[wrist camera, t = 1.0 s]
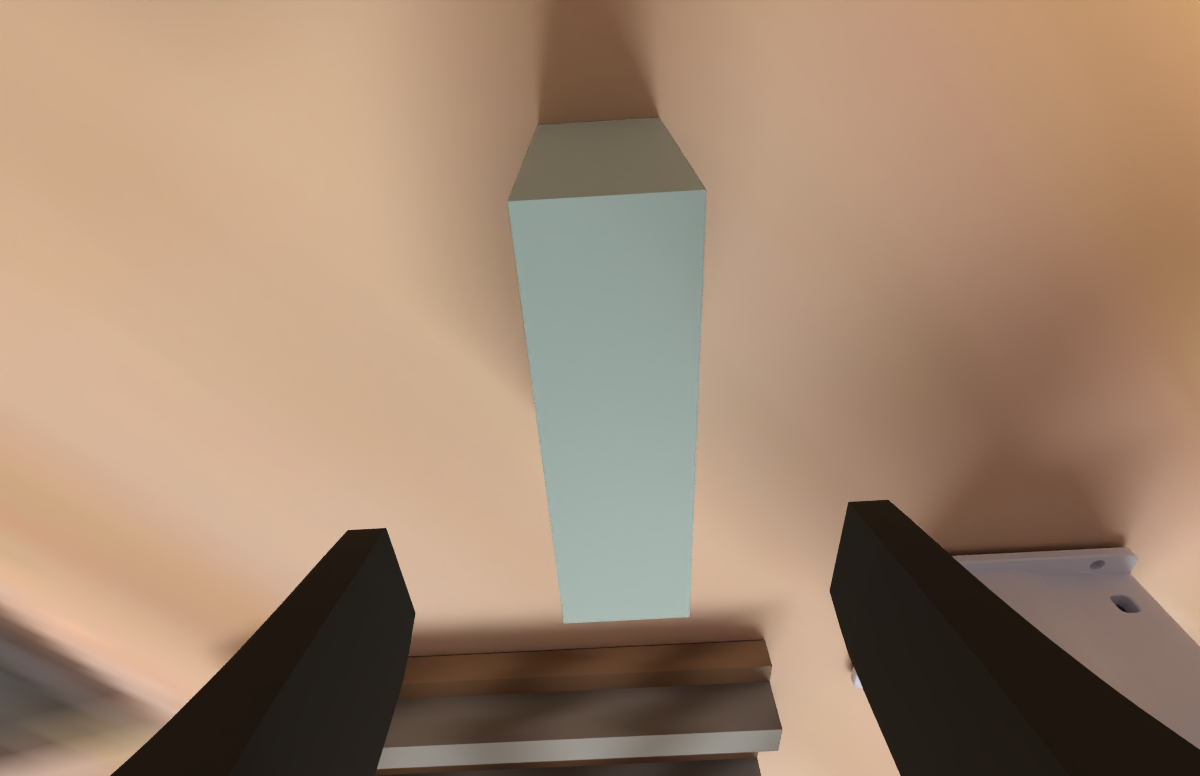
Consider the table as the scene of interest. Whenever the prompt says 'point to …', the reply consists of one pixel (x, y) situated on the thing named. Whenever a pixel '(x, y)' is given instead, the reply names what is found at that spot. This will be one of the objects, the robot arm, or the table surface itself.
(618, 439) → the door panel
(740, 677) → the door track
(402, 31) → the table surface
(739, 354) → the table surface
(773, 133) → the table surface
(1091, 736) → the robot arm
